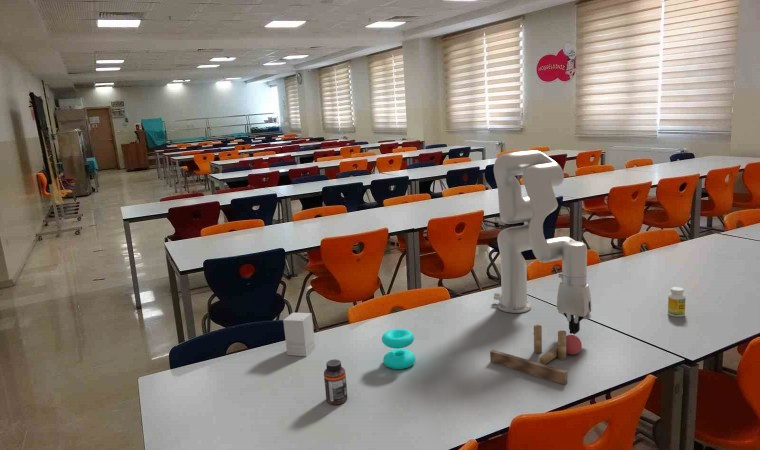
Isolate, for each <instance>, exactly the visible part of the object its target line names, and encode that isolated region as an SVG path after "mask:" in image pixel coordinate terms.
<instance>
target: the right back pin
mask: <svg viewBox="0 0 760 450" xmlns="http://www.w3.org/2000/svg"><path fill="white" fill-rule="evenodd" d="M566 336H567V331H566V330H558V331H557V348H558V356H557V359H558V360H560V361H566V360H567V353H566Z"/></svg>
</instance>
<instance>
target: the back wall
mask: <svg viewBox="0 0 760 450" xmlns="http://www.w3.org/2000/svg"><path fill="white" fill-rule="evenodd" d="M489 355H490V356H489V359H490V361H489V362H490V363H492V364H496V365H499V366H502V367H505V368H509V369H512V370H515V371H519V372H521V373H526V374H528V375H532V376H534V377H537V378H541V379H545V380H547V381H551V382H554V383H558V384H561V385H566V384H567V383H568V370H565V369H561V368H557V367H554V366H552V365H548V364H545V365H544V364H541V363H540V362H536V361H533V360H530V359H527V358H523V357H520V356H515V355H513V354H511V353H510V354H509V353H506V352H502V351H499V350H496V349H491V350H490V352H489Z"/></svg>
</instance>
